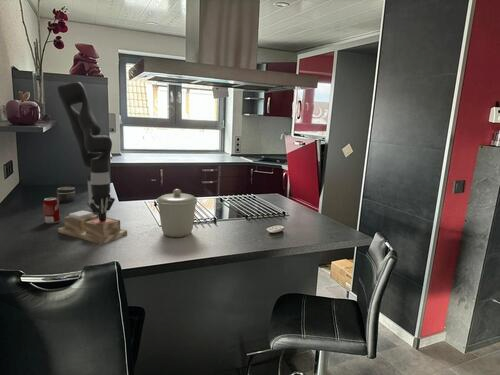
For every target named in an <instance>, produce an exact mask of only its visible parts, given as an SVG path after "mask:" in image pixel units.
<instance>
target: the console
mask: <svg viewBox="0 0 500 375" xmlns="http://www.w3.org/2000/svg"><path fill="white" fill-rule="evenodd" d="M106 218H107V219H111V220H115V221H113V222H110V223H107V224H104V225H99V224H95V223H91V221H95V220H98V219H99V215H97V214H95V213H93V216H92V217H88V218H84V219H81V220H78V219H74V218H70V217H69V215H67V216H64V218H63V219H64V220H63V221H64V226H62V227H59V228H58V227H57V230H58V232H57V233H58V234H63V235H66V236H70V237H75V238H77V239H81V240H84V241H89V242H92V243H96V244H99V245H103V244H106V243H109V242H112V241H115V240H117V239H119V238H122V237H125V236H127V235H128V230H126V229H121V220H120V219H116V218H111V217H107V216H106Z"/></svg>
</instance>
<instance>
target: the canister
mask: <svg viewBox="0 0 500 375" xmlns="http://www.w3.org/2000/svg"><path fill="white" fill-rule="evenodd" d="M155 201H156V203H157V205H158V212H159V218H160V225H161V226H160V227H161V230H162V233H163V234H164V235H165V236H167V237H170V238H171V237H172V238H182V237H186V236H189V235H190V234H191V233H192V231H193V228H194V222H195V213H196V212H195V211H196V205H197V204H196V203H197V201H198V198H197V197H196V196H194V195H193V194H189V193H184V192H182V190H181V189H179V188H175V189H173V191H172V193H167V194H162V195H161V196H159V197H157V198H156V200H155Z"/></svg>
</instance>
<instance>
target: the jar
mask: <svg viewBox="0 0 500 375" xmlns="http://www.w3.org/2000/svg"><path fill="white" fill-rule="evenodd" d="M56 195H57V197H56V198H57V200H58V201H59V203H70V202H71V203H72V202H73V201H75V200H76V187H73V186H61V187H58V188H56Z"/></svg>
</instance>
